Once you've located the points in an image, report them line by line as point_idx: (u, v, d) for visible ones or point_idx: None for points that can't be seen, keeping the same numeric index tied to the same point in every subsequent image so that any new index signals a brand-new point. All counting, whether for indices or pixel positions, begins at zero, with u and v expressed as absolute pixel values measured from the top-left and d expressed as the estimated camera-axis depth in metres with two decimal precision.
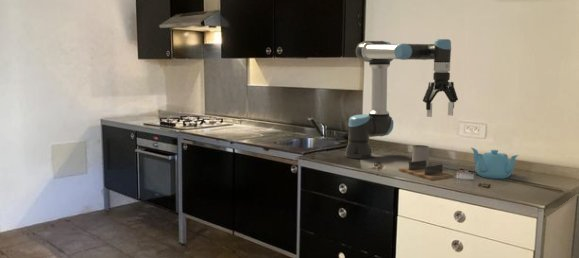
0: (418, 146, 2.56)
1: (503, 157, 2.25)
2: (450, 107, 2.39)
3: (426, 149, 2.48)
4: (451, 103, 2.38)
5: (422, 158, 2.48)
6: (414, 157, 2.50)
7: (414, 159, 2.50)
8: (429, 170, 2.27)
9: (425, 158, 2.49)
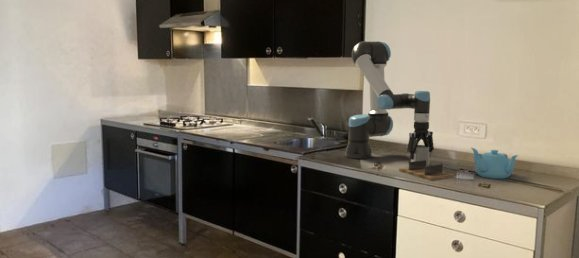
0: (418, 146, 2.56)
1: (503, 157, 2.25)
2: None
3: (426, 149, 2.48)
4: None
5: (422, 158, 2.48)
6: None
7: None
8: (429, 170, 2.27)
9: (425, 158, 2.48)
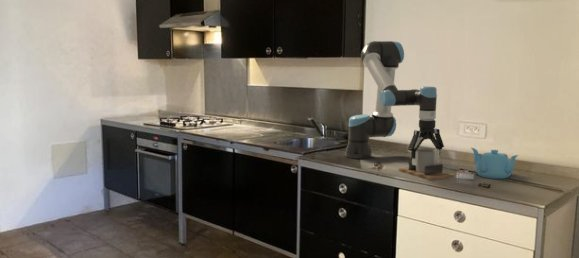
0: (422, 150, 2.36)
1: (503, 157, 2.25)
2: (436, 154, 2.35)
3: (432, 154, 2.29)
4: (437, 150, 2.35)
5: (427, 163, 2.29)
6: (419, 162, 2.31)
7: (419, 164, 2.31)
8: (429, 170, 2.27)
9: (431, 163, 2.29)
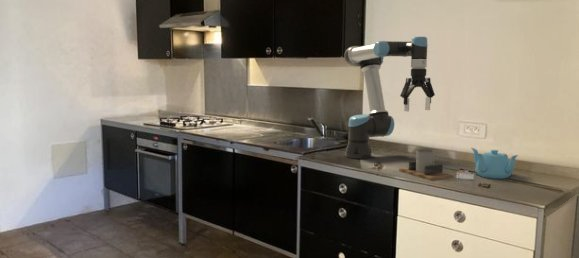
0: (422, 150, 2.36)
1: (503, 157, 2.25)
2: (427, 102, 2.48)
3: (432, 154, 2.29)
4: (428, 98, 2.48)
5: (428, 163, 2.29)
6: (419, 162, 2.31)
7: (419, 164, 2.31)
8: (429, 170, 2.27)
9: (431, 163, 2.29)
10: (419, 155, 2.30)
